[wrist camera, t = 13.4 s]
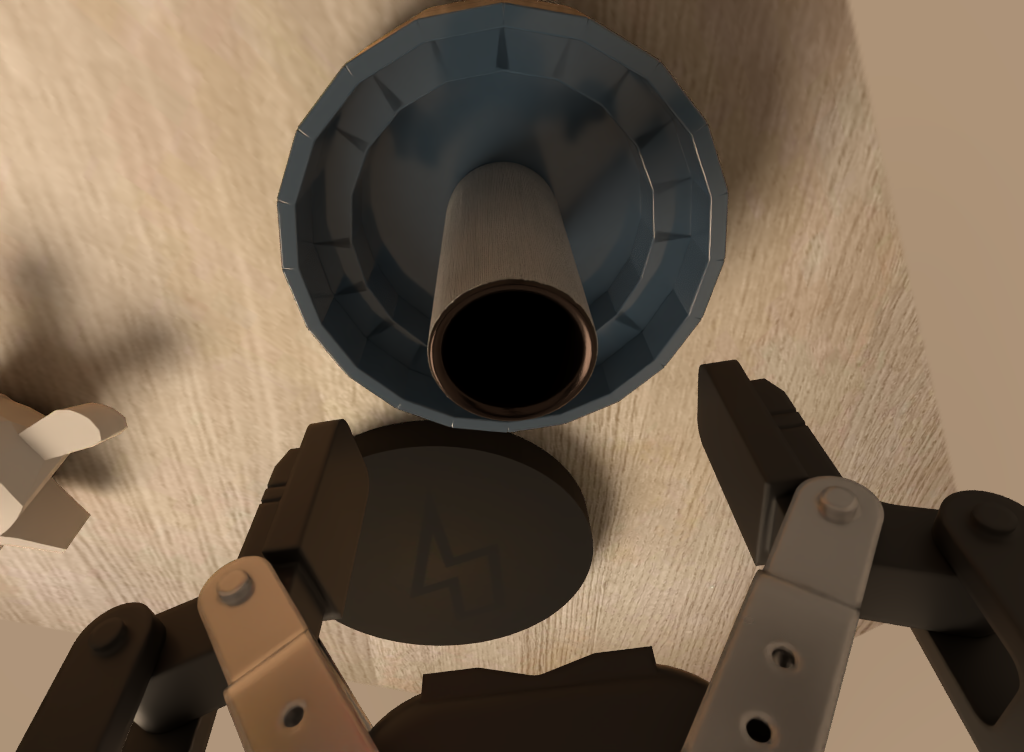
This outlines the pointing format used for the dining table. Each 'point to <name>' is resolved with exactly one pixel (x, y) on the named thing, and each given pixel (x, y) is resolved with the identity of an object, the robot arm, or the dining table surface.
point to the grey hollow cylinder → (508, 300)
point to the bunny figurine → (45, 470)
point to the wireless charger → (463, 536)
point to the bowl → (487, 139)
